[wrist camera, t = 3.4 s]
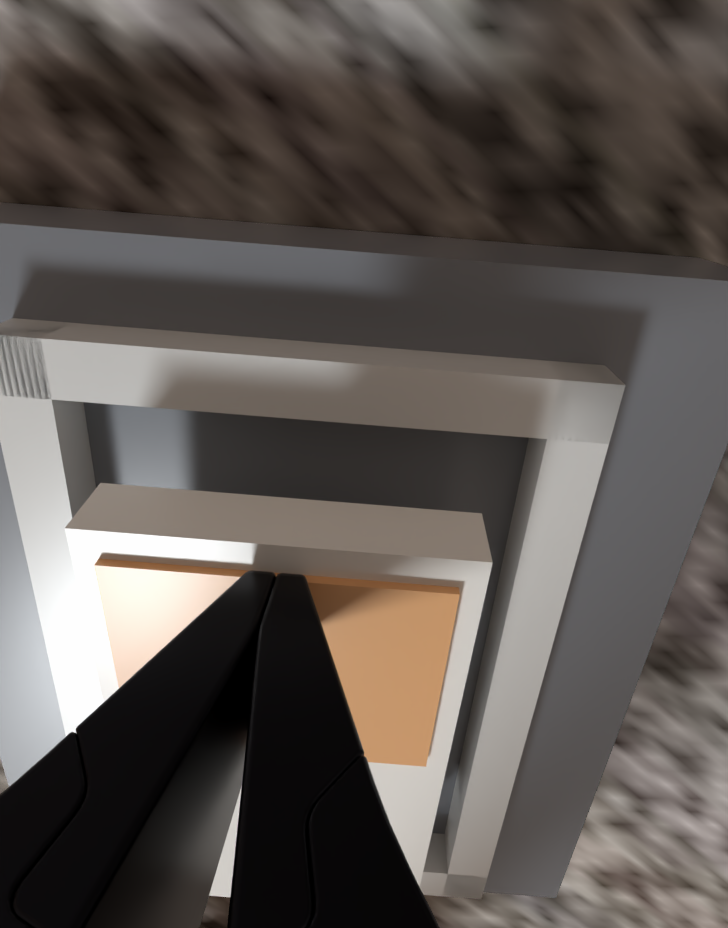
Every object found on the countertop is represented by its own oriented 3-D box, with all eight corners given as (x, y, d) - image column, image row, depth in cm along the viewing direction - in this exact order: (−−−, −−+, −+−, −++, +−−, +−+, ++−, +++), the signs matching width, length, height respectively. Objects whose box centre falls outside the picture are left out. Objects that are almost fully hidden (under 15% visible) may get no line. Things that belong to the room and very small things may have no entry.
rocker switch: (412, 855, 14) (414, 920, 13) (163, 835, 15) (143, 898, 13) (481, 513, 9) (494, 569, 8) (100, 483, 9) (59, 534, 8)
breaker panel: (533, 798, 20) (567, 946, 16) (78, 761, 20) (6, 901, 16) (699, 258, 12) (838, 302, 8) (-43, 199, 12) (-235, 216, 8)
